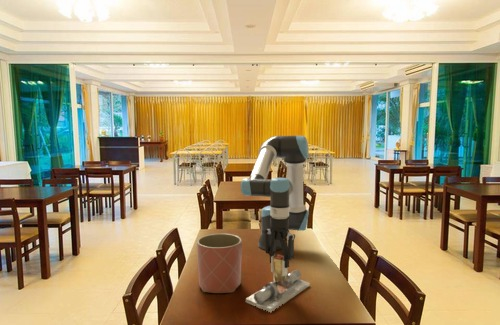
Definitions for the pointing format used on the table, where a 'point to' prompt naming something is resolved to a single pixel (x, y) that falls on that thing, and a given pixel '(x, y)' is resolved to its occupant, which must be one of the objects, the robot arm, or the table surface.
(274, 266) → the brass cylinder
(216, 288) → the planter
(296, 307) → the table surface
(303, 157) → the robot arm
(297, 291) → the pipeline
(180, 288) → the table surface
